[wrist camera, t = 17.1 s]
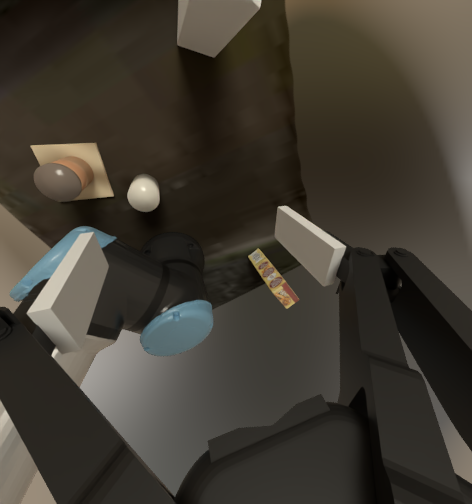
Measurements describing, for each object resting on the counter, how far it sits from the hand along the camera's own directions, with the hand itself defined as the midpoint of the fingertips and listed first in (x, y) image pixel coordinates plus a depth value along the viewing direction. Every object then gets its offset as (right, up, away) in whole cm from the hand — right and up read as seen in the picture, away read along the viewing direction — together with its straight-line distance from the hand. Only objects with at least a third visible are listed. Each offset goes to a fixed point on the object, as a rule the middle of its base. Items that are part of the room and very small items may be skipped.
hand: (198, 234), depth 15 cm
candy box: (+10, -4, +45) cm, 46 cm away
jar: (-25, +13, +20) cm, 34 cm away
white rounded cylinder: (-15, +12, +25) cm, 32 cm away
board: (-25, +13, +21) cm, 35 cm away
